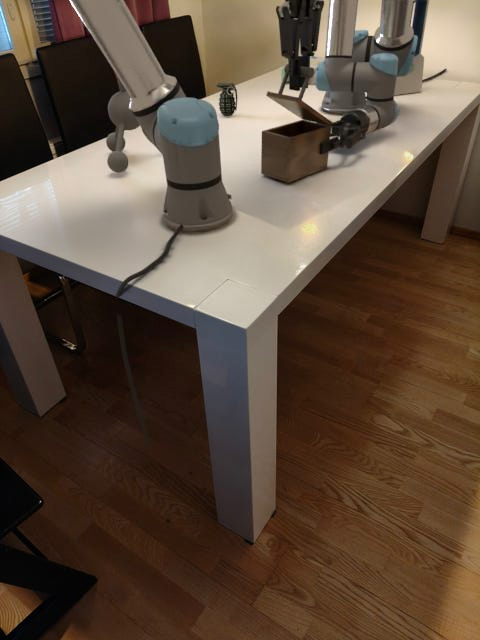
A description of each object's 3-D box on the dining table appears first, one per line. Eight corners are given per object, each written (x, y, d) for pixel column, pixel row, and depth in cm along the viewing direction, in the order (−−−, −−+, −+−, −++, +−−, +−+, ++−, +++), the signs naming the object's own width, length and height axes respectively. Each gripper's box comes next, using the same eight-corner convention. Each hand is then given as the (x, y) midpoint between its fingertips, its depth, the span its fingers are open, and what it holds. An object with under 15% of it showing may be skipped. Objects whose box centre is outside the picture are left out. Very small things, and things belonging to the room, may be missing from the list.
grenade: (217, 117, 168) (214, 86, 162) (221, 112, 172) (219, 82, 166) (235, 117, 166) (233, 86, 160) (239, 113, 171) (238, 82, 165)
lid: (296, 101, 109) (310, 63, 106) (266, 95, 114) (279, 58, 112) (330, 125, 120) (343, 91, 118) (301, 119, 126) (314, 86, 124)
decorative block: (304, 54, 217) (345, 57, 207) (303, 70, 221) (343, 73, 211) (272, 65, 201) (315, 69, 191) (272, 82, 205) (314, 86, 195)
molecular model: (192, 164, 133) (178, 39, 115) (111, 178, 128) (83, 49, 109) (169, 139, 151) (154, 28, 132) (98, 152, 145) (72, 36, 127)
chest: (288, 182, 119) (290, 138, 112) (261, 173, 124) (261, 131, 118) (327, 168, 127) (331, 126, 121) (300, 160, 132) (302, 119, 126)
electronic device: (391, 95, 179) (404, -2, 161) (381, 91, 185) (392, -4, 167) (421, 91, 181) (437, -5, 163) (410, 87, 187) (425, -6, 169)
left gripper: (311, -38, 106) (307, 80, 120) (262, -33, 98) (264, 93, 112) (339, -39, 101) (331, 84, 116) (290, -34, 93) (288, 97, 108)
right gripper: (390, 145, 132) (339, 169, 120) (326, 129, 145) (274, 150, 133) (394, 116, 127) (341, 138, 115) (327, 103, 140) (274, 121, 128)
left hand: (298, 88), depth 114 cm, fingers closed on lid, 2 cm apart
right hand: (305, 144), depth 124 cm, fingers closed on chest, 9 cm apart
